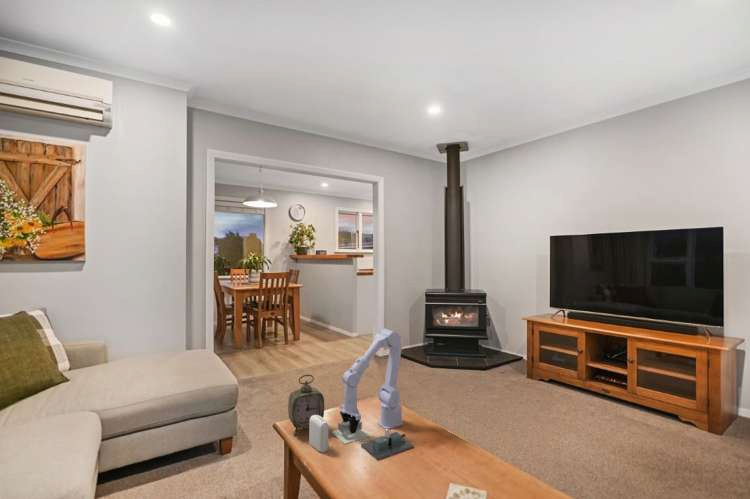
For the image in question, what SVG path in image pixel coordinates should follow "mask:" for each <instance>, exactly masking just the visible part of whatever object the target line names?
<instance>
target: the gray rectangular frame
mask: <svg viewBox="0 0 750 499" xmlns="http://www.w3.org/2000/svg"><path fill="white" fill-rule="evenodd" d="M362 427H363V422H362V421H361V420H360V421H359V423H358V426H357V429H356V431H357V430H362V429H363V428H362ZM337 430H339V431H340V432H341V433H342V434H347V433H351V431H350V423H349V420H347V421H343V420H342V421H340V422H338V423H337Z"/></svg>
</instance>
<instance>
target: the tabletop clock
mask: <svg viewBox="0 0 750 499" xmlns="http://www.w3.org/2000/svg"><path fill="white" fill-rule="evenodd" d="M305 377H311V378H312V380H311V381H307V380H305V381H304V382H301V379H302V378H305ZM314 379H315V377H314V375H312V374H303V375H301V376H300V377H299V379H298V383H299V384H300V385H301V387H300V389H297V390H293V391H291V392H290V393H289V397H288V401H287V402H288V403H287V411H288V412H287V413H288V419H289V420H290V422H291V424H292V425H293V427H294V428H295V430H294V431H293V433H292V434H293V436H297V435H298V431H297V430H298V429H304V428H305V429H306V428H309V421H310V418H311V416H313V415H319V416H321V417H322V418H324V416H325V399H324V395H323V393H322V392H321V391H320V390H319V389H318V388H316V387H312V386H311V385H310V384H312V382H314Z"/></svg>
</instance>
